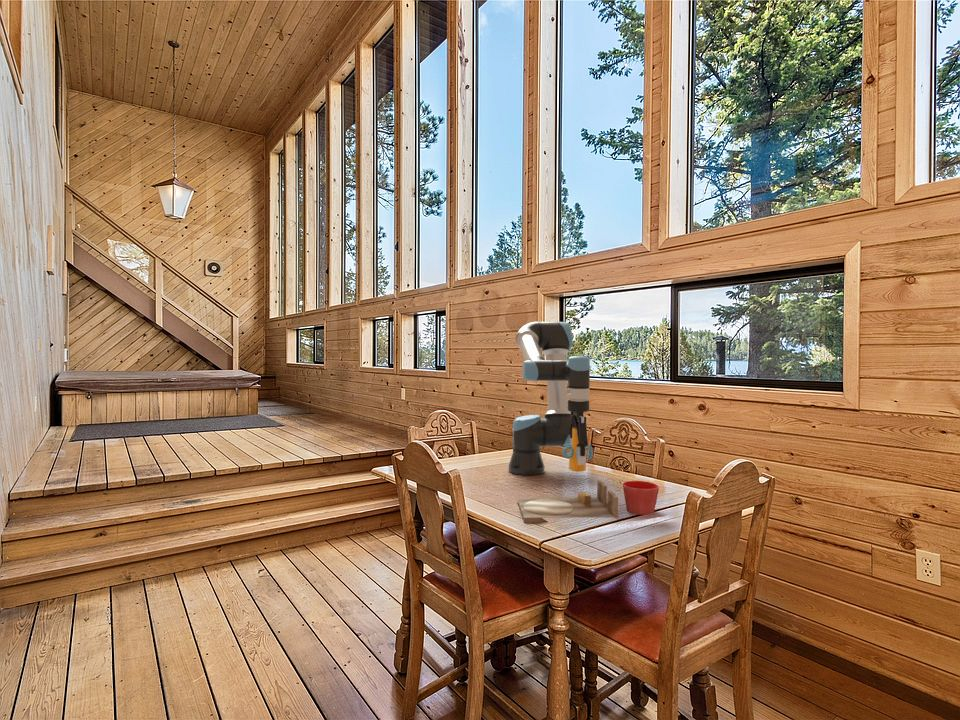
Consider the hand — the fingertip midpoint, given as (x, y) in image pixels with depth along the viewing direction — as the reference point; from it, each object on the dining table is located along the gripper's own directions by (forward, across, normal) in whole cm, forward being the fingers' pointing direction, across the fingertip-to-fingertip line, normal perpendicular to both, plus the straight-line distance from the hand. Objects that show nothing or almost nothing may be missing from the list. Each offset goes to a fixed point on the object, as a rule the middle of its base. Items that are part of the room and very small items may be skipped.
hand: (577, 460), depth 188 cm
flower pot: (+12, +23, +15) cm, 30 cm away
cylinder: (+4, 0, 0) cm, 4 cm away
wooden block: (+11, +15, -1) cm, 18 cm away
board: (+12, +19, -8) cm, 24 cm away
